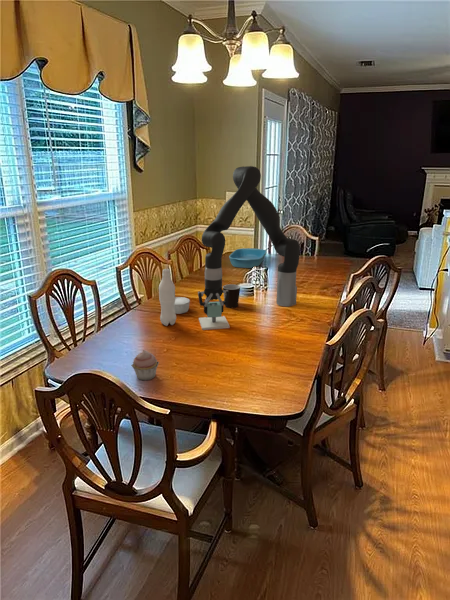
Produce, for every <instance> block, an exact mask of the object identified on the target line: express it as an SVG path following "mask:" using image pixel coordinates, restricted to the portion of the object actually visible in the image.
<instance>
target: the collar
mask: <svg viewBox="0 0 450 600" xmlns="http://www.w3.org/2000/svg"><path fill="white" fill-rule="evenodd" d="M212 304H215V305H212ZM222 314H223V312H222V306H221V304H220V302H219V301H209V303H208V305H207V315H206V316H207V317H222Z"/></svg>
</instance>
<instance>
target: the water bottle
mask: <svg viewBox="0 0 450 600" xmlns="http://www.w3.org/2000/svg"><path fill="white" fill-rule="evenodd" d="M161 275H162V278H161V281H160V283H159V285H158V297H159V298H158V299H159V304H160V310H161V311H160V316H159V319H160V320H159V321H160V322H161V324H162V325H163V326H166V327H167V326H168V325H169V324H170V325H171V326H173V325H174V324H175V323H176V320H177V314H175V309H174V303H175V300H176V299H175V297H176V286H175V283H174V282H173V280H172V278H171V271H170V269H169V268H164V269H162V274H161Z"/></svg>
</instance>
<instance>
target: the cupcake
mask: <svg viewBox="0 0 450 600" xmlns="http://www.w3.org/2000/svg"><path fill="white" fill-rule="evenodd" d="M159 364H160V362H159V361H158V359H156V356H155V355H154V354H153V353H152V352H150V351H148V350H146V349H145V350H144V349H143V350H142V352H140V353H138V354H137V355H136V356H135V358H134V359H133V361H132V364H131V368H133V371H134V372H135V375H136V377H137V379H138V380H139V381H150V380H152V379H154V378H155V377H156V375H157V368H158V366H159Z"/></svg>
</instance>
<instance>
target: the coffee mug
mask: <svg viewBox="0 0 450 600" xmlns="http://www.w3.org/2000/svg"><path fill="white" fill-rule="evenodd" d="M222 289H223V290H228V291H229V298H228V304H225V305H224V306H225V308H227V309H236V308H238V307H239V300H240V291H241V286H240V285H238V284H233V283H230V284H225V285H222ZM224 298H225V295H224V294H223V299H224Z"/></svg>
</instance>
